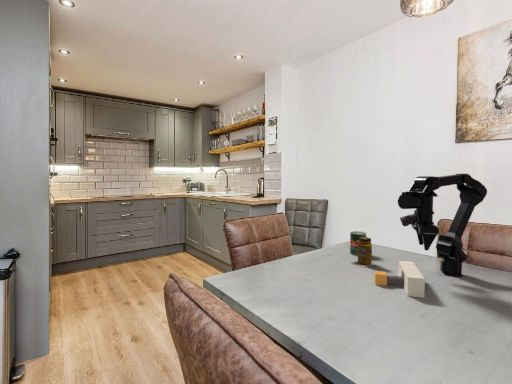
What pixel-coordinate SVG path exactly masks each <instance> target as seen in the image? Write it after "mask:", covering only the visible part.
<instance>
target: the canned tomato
mask: <svg viewBox="0 0 512 384" xmlns="http://www.w3.org/2000/svg"><path fill="white" fill-rule="evenodd" d="M349 233H350V234H349V236H350V239H349V240H350V242H349V243H350V245H349V246H350V247H349V248H350V249H349V254H350V255H353V256H358V243H359V238H360V237H367V233H366V232H365V231H358V230H357V231H350V232H349Z"/></svg>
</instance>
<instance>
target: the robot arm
mask: <svg viewBox="0 0 512 384" xmlns="http://www.w3.org/2000/svg"><path fill="white" fill-rule="evenodd" d="M452 185H453V186H454V185H456V189H457V190H458V191H459V195H458V196H459V200H460V203H459V206H458V207H457V210H456V212H455V214H454V217H453V219H452V221H451V223H450V226H449V228H448V231H447V232H446V233H445V234H440V228H439V227H438V226H437V225H436V224H435V222H434V220H433V219H434V218H433V216H434V215H435V211H434V197H439V195H438V194H437V193H436V190H439V189H440V188H441V187H446V186H452ZM487 194H488V189H487V188H486V186H485V185H484V184H483V183H482V182H480V181H479V180H477V179H476V178H473V176H471V175H470V174H468V173H456V174H450V175H442V176H431V175H429V176H428V175H427V176H422V175H421V176H416V177H415V179H414V180H413V182H412V184H411V186H410V187H409V189H408V190H407V191H404V190H403V191H401V194H400V195H399V196H398V199H397V205H398V207H399V208H400V209H402V210H413V213H411V214H408V215H404V216H401V217H399V220H400V222H401V225H402V226H403V227H408V226H410V225H411V228H412V229H413V230H414V231H416V235H417V236H416V237H417V240H418V244H419V245H420V246H423V247H424V250H425V251H429V249H430V248H431V246H432V244H433V242H434V241H435V239H436V237H437V236H438V239H437V241H436V242H435V244H436V245H435V248H436V249H435V250H436V252H437V255H438V257H439V258H441V260H440V265H439V266H440V271H441V273H442V274H443V275H444V276H452V277H464V274H463V273H462V271H463V263H464V262H466V261H467V258H468V256H467V253H465V251H463V247H464V244H463V240H462V237H463V235H464V233H465V230H466V228H467V225H468V223H469V221H470V218H471V217H472V214H473V213H474V210H475V207H477V206H478V205H479V204H480V203H482V202H483V201H484V200H485V198H486V196H487Z"/></svg>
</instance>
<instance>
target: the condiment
mask: <svg viewBox="0 0 512 384" xmlns="http://www.w3.org/2000/svg"><path fill="white" fill-rule="evenodd" d="M372 248H373V244H372V238H370V237H367V236H366V237H360V238H359V243H358V255H357V261H354V262H351V264H353V265H355V266H358V267H363V268H367V267H370V266H371V267H372V266H373V265H375V263H374V262H372V261H373V258H372V257H373V256H372V255H373V253H372V252H373V249H372Z"/></svg>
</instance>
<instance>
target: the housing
mask: <svg viewBox="0 0 512 384" xmlns="http://www.w3.org/2000/svg"><path fill="white" fill-rule="evenodd" d="M398 276H401V277H404V287H403V290H404V291H405V293H406V294H405V295H407V297H414V298H423V299H424V298H425V286H426V285H425V282H426V281H425V277H424V276H423V274H422V273H421V271H420V270H419V268H418V267H417V266H416V264H415V262H414V261H409V260H408V261H407V260H406V261H405V260H398Z"/></svg>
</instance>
